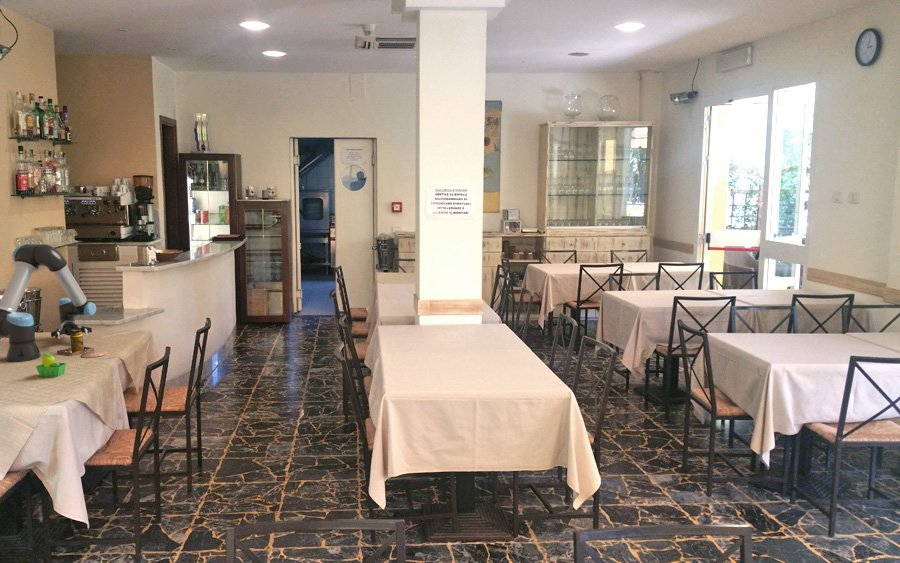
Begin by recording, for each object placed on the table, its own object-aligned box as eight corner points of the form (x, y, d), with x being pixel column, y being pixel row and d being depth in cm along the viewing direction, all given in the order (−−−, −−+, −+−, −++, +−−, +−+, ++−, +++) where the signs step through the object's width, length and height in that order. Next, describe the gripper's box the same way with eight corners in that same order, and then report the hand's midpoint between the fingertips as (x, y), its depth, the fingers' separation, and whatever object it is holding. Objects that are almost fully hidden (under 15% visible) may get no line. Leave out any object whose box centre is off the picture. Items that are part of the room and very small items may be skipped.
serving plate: (91, 358, 384) (91, 357, 384) (76, 356, 390) (76, 354, 390) (111, 353, 395) (111, 352, 394) (96, 351, 400) (96, 350, 400)
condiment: (86, 352, 400) (84, 330, 398) (69, 354, 394) (67, 332, 392) (81, 349, 405) (80, 328, 403) (65, 352, 399) (63, 330, 397)
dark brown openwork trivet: (71, 356, 391) (71, 353, 390) (57, 353, 396) (56, 350, 396) (94, 350, 402) (94, 347, 402) (79, 348, 408) (79, 345, 408)
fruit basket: (68, 373, 356) (66, 350, 355) (57, 378, 348) (55, 354, 346) (45, 373, 357) (43, 349, 356) (34, 378, 348) (31, 354, 347)
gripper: (94, 331, 431) (98, 338, 414) (45, 337, 419) (47, 344, 401) (92, 318, 430) (97, 325, 412) (43, 324, 417) (46, 330, 400)
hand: (73, 334), depth 407 cm, fingers open, 13 cm apart
